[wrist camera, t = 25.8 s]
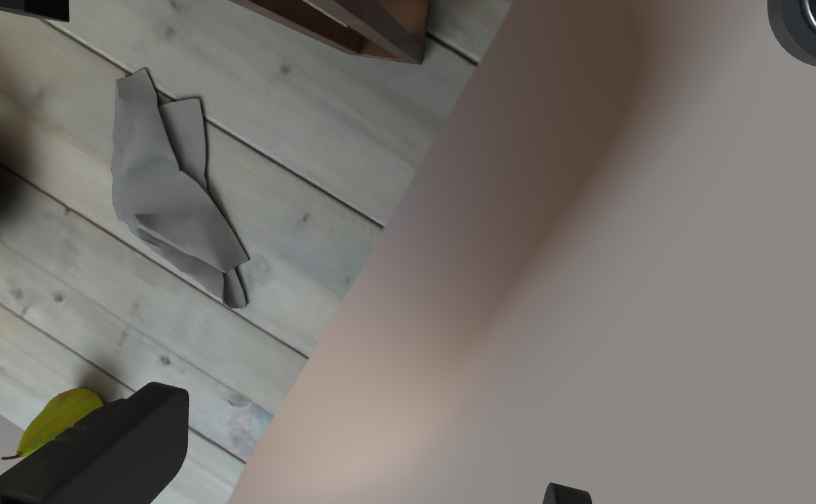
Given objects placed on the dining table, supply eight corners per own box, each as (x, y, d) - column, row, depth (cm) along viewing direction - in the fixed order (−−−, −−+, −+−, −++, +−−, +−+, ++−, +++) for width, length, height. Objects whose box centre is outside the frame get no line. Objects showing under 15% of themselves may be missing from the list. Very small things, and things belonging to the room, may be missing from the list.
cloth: (77, 86, 51) (58, 85, 49) (192, 55, 48) (178, 52, 46) (154, 320, 57) (140, 327, 55) (262, 305, 54) (251, 312, 52)
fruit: (77, 422, 63) (-18, 489, 51) (65, 378, 61) (-35, 436, 50) (121, 424, 62) (34, 493, 50) (110, 379, 60) (18, 439, 49)
